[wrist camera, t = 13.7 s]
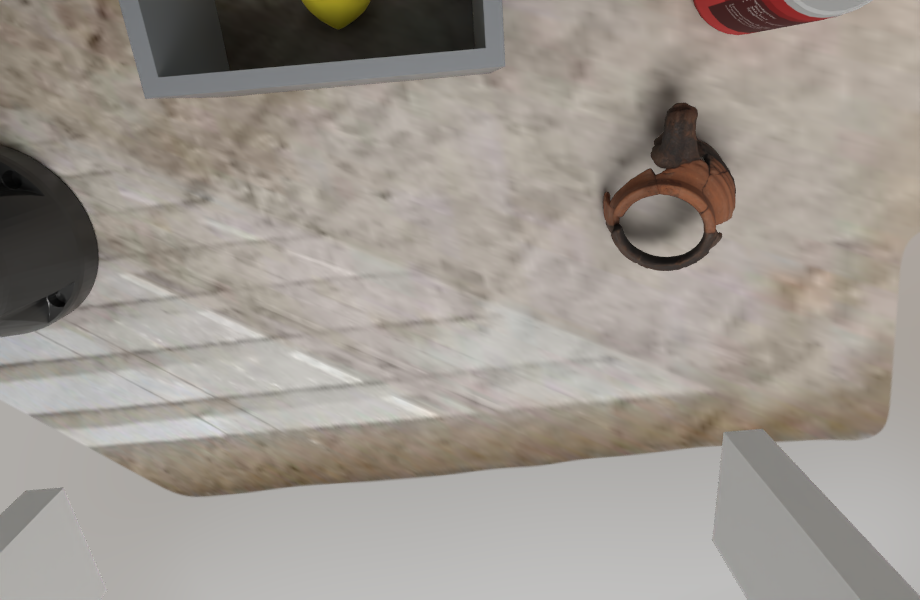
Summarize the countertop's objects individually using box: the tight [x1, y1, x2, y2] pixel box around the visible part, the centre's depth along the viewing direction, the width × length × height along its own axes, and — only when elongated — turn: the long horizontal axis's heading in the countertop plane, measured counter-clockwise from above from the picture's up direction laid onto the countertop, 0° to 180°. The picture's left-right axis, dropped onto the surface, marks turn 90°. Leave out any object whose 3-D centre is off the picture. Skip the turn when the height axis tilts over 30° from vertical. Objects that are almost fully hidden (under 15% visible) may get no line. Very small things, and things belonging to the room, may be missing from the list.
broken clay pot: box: [603, 103, 736, 271], centre depth 41 cm, size 12×10×8 cm
